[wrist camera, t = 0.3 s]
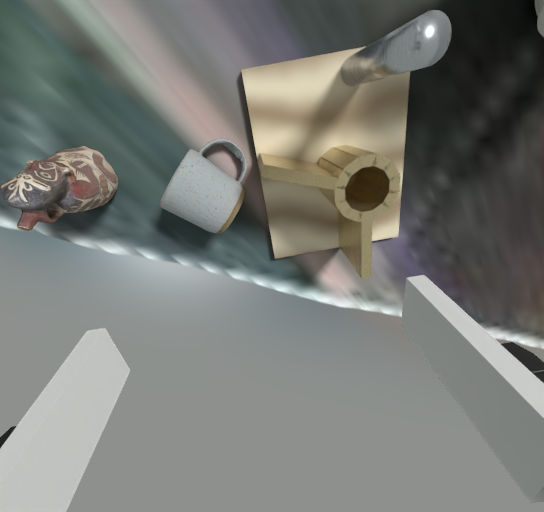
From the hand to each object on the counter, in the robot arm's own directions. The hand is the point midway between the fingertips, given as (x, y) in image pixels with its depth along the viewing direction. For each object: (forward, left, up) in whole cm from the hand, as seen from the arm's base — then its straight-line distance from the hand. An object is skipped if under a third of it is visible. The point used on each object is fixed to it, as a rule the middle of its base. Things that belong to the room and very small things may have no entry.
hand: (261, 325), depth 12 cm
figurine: (-5, -20, -28) cm, 35 cm away
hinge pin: (-11, +14, -26) cm, 32 cm away
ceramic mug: (-2, -5, -28) cm, 28 cm away
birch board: (-1, +11, -27) cm, 29 cm away
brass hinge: (+4, +8, -26) cm, 28 cm away
